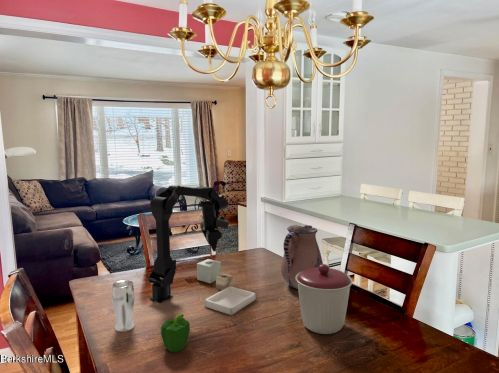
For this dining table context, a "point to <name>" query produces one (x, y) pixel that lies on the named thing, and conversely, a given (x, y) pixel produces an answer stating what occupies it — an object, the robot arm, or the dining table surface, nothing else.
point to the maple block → (224, 281)
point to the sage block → (208, 270)
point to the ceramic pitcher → (299, 252)
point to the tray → (230, 300)
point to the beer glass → (123, 304)
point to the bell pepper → (175, 333)
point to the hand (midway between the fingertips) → (212, 247)
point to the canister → (323, 298)
